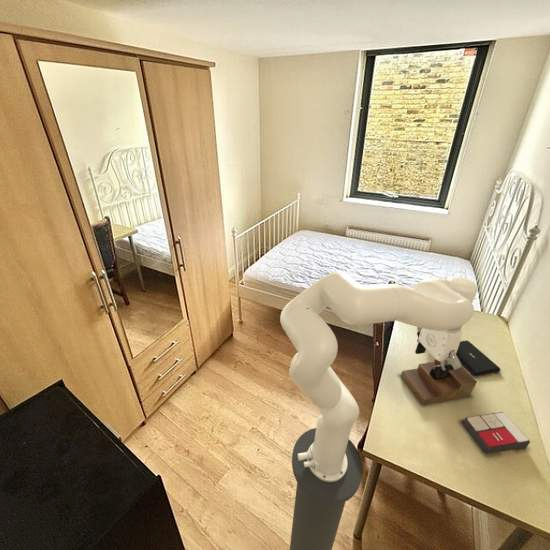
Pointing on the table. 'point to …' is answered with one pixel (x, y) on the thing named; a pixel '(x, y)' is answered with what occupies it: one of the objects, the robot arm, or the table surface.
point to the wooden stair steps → (438, 383)
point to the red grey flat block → (495, 433)
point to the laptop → (475, 360)
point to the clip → (434, 372)
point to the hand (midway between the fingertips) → (429, 364)
